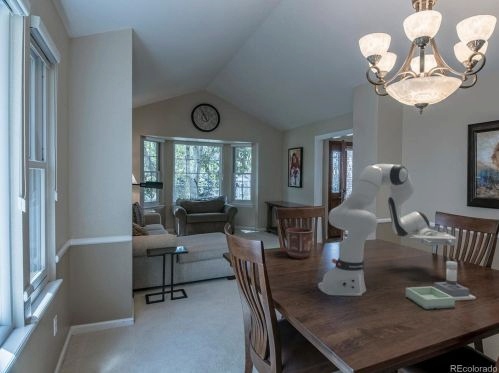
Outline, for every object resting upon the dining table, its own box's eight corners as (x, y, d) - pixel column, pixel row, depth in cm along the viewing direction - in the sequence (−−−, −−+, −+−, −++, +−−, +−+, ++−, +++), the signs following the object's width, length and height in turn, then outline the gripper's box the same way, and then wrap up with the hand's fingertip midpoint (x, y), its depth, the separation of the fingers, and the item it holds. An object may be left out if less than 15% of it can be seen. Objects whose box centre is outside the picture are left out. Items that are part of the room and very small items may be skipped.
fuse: (450, 294, 138) (451, 263, 138) (443, 290, 143) (444, 261, 142) (458, 293, 139) (459, 263, 138) (451, 290, 143) (452, 260, 143)
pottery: (309, 252, 213) (309, 227, 212) (315, 260, 195) (315, 232, 195) (284, 253, 212) (284, 227, 212) (288, 260, 195) (288, 232, 194)
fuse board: (449, 300, 133) (449, 291, 133) (428, 289, 146) (428, 281, 146) (475, 299, 135) (476, 290, 135) (452, 288, 148) (452, 280, 148)
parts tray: (426, 309, 125) (426, 299, 125) (405, 296, 138) (406, 287, 138) (454, 307, 127) (454, 297, 127) (431, 294, 140) (431, 286, 140)
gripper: (408, 231, 167) (418, 236, 153) (448, 232, 164) (462, 237, 150) (408, 242, 167) (418, 249, 154) (448, 243, 164) (462, 250, 150)
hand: (440, 243), depth 152 cm, fingers open, 8 cm apart
